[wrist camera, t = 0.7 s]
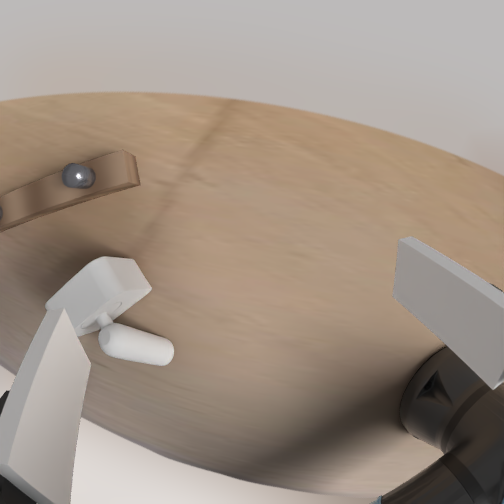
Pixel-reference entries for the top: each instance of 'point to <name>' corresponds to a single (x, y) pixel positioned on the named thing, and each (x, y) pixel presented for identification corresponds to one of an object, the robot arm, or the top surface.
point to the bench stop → (69, 188)
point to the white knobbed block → (111, 309)
